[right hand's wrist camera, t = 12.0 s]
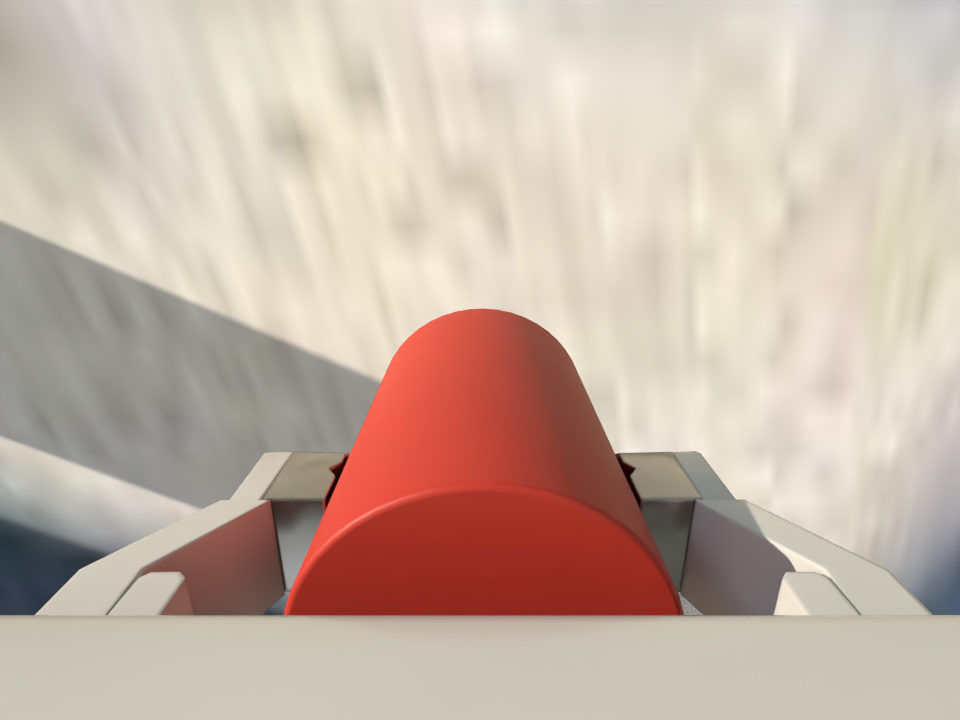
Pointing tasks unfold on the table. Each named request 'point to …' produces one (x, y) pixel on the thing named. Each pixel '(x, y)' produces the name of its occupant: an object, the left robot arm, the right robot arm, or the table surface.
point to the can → (482, 490)
